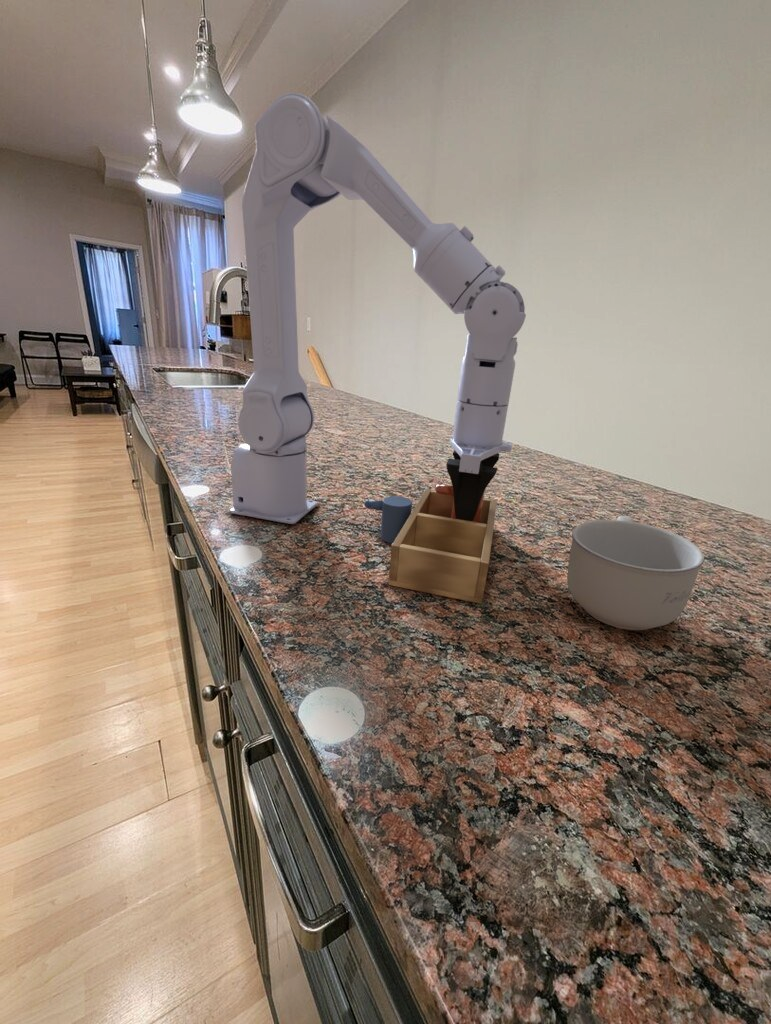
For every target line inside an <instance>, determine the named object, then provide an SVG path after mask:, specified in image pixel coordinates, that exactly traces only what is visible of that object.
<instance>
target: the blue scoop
mask: <svg viewBox="0 0 771 1024" xmlns="http://www.w3.org/2000/svg"><path fill="white" fill-rule="evenodd" d="M364 507H365V509H368V510H375V511H379V512H381V521H380V522H381V523H380V535H379V536H380V539H381V540H382V541H383V542H385V543H388V544H393V542H394V541H395V539H396V537H397V536H398V534H399V533H400V531H401V529H402V528H403V526H404V524H405V523H406V521H407V519H408V518H409V516H410V514H411V513H412V510H413V509H412V508H413V501H412V500H411V499H410V498H408V497H405V496H400V495H390V496H386V497H384V498H383V499H382V500H377V499H371V498H367V499H365V501H364Z"/></svg>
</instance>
